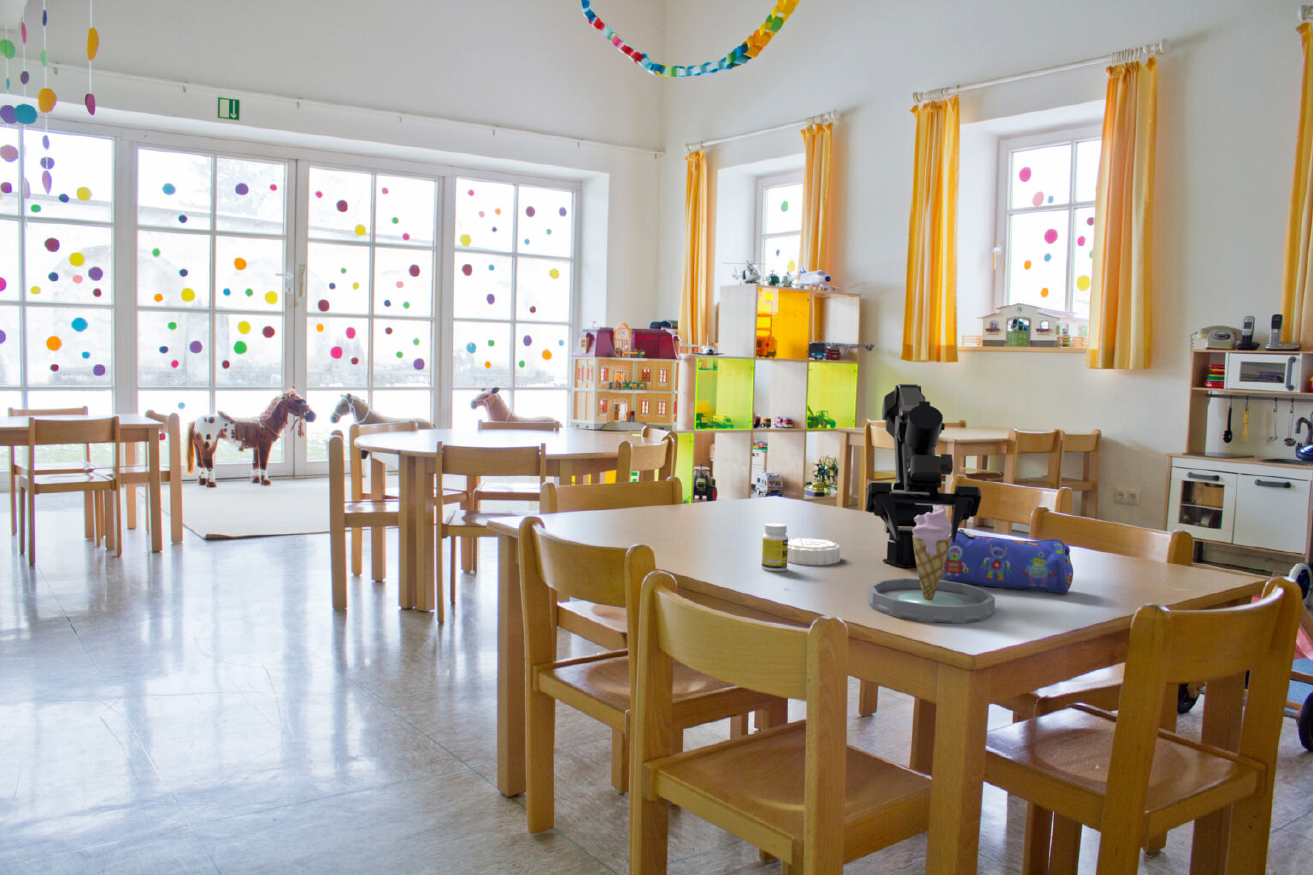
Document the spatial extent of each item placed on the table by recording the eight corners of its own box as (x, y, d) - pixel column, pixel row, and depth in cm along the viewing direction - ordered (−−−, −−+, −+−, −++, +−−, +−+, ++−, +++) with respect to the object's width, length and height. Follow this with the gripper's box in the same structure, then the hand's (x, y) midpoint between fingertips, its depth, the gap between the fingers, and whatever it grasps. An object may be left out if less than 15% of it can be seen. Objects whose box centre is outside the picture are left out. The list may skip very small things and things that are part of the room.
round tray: (934, 589, 167) (934, 574, 166) (1019, 615, 150) (1020, 600, 149) (844, 598, 158) (845, 583, 158) (924, 628, 141) (924, 611, 141)
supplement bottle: (786, 572, 177) (787, 527, 177) (760, 571, 178) (761, 526, 177) (787, 567, 182) (789, 523, 181) (762, 565, 183) (764, 521, 182)
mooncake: (844, 567, 184) (844, 548, 184) (781, 565, 185) (781, 546, 185) (835, 554, 196) (835, 537, 196) (776, 553, 197) (776, 535, 197)
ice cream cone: (953, 605, 151) (959, 510, 149) (913, 604, 151) (918, 509, 150) (941, 594, 157) (946, 504, 156) (903, 593, 157) (908, 502, 156)
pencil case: (935, 584, 171) (938, 530, 171) (944, 575, 179) (946, 524, 178) (1070, 600, 162) (1073, 543, 161) (1073, 589, 169) (1076, 536, 168)
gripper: (869, 435, 166) (872, 508, 156) (982, 438, 164) (991, 513, 154) (864, 475, 175) (866, 547, 165) (971, 479, 172) (980, 552, 162)
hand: (925, 539), depth 161 cm, fingers open, 9 cm apart
